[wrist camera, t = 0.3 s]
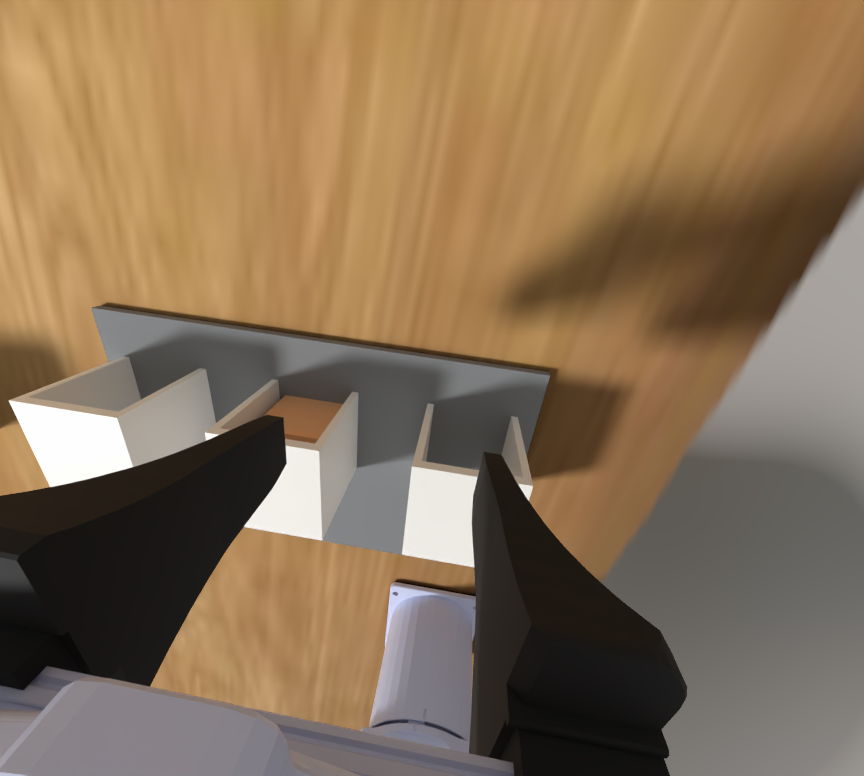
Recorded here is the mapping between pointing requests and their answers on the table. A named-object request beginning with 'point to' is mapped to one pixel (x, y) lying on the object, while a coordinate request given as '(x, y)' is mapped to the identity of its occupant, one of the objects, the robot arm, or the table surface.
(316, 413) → the cube
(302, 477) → the white u-channel shell
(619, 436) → the table surface
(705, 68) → the table surface
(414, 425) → the mat
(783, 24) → the table surface
